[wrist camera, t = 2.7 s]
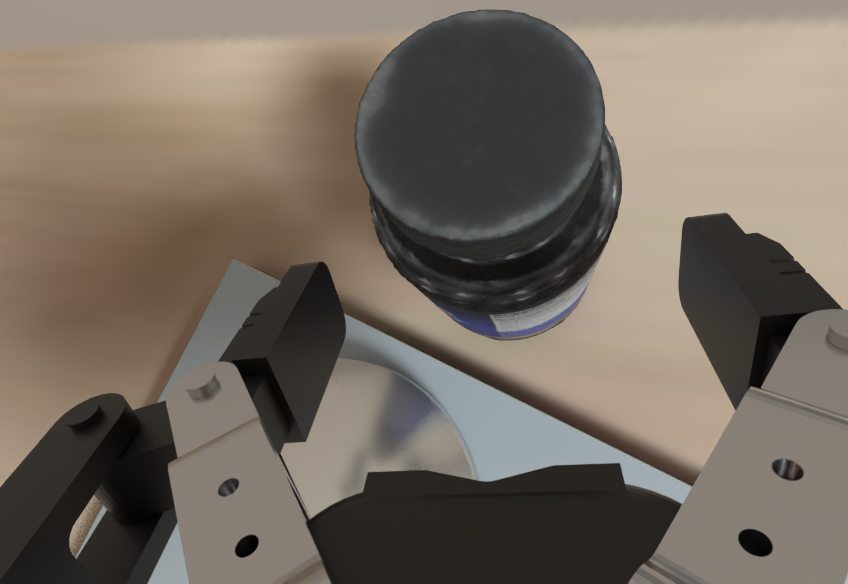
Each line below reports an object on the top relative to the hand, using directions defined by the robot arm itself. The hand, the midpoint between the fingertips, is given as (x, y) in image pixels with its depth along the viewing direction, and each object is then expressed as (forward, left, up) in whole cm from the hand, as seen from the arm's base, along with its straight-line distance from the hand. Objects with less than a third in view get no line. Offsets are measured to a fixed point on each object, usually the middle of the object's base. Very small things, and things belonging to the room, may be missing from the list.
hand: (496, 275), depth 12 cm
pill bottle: (+1, -2, -8) cm, 8 cm away
